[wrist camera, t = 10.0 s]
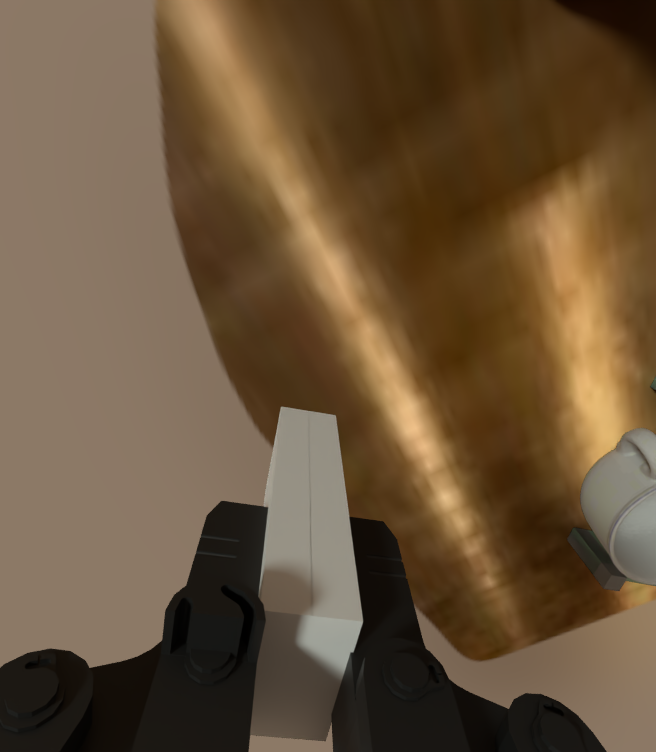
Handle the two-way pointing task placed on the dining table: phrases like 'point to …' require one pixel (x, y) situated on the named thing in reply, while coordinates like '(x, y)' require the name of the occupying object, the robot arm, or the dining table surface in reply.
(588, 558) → the tray
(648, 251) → the dining table surface
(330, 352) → the dining table surface
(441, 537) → the dining table surface
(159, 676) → the robot arm
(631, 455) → the teacup
